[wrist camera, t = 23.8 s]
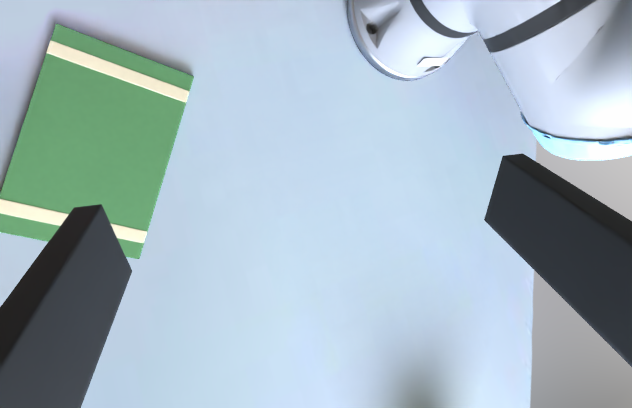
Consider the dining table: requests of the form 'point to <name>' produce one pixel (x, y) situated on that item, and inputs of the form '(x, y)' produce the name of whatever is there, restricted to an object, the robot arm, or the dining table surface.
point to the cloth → (93, 140)
